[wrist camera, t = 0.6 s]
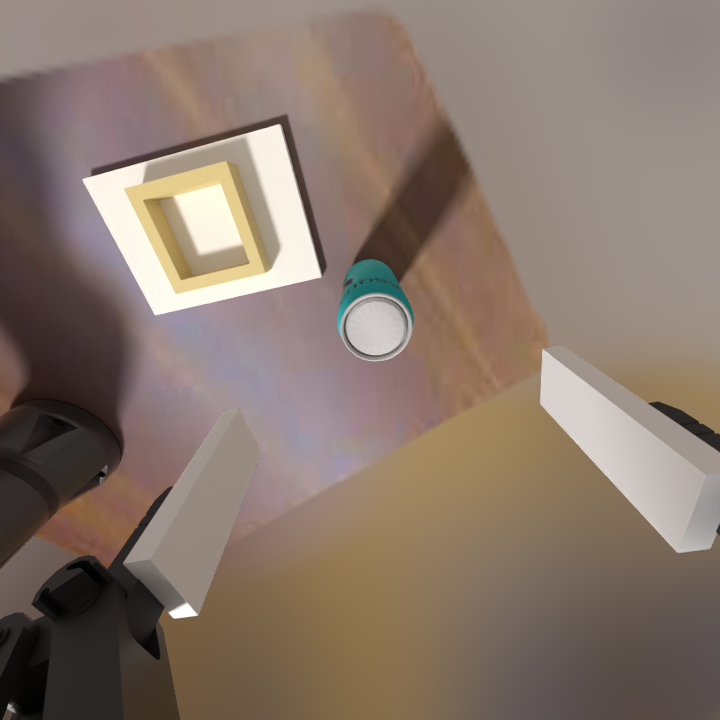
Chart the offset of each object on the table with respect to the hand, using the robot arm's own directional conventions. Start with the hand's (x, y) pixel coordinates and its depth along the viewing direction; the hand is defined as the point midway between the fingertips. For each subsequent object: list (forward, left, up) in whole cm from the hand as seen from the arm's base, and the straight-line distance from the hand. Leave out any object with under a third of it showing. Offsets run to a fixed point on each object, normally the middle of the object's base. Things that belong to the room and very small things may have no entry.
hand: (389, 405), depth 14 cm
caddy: (-15, +9, -24) cm, 30 cm away
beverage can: (0, 0, -25) cm, 25 cm away
